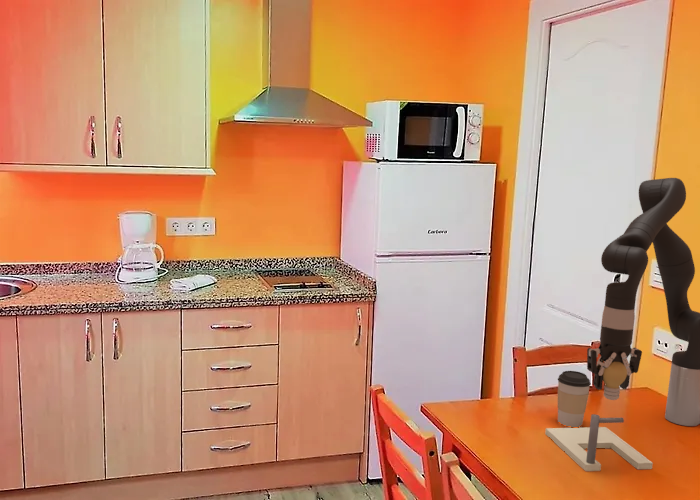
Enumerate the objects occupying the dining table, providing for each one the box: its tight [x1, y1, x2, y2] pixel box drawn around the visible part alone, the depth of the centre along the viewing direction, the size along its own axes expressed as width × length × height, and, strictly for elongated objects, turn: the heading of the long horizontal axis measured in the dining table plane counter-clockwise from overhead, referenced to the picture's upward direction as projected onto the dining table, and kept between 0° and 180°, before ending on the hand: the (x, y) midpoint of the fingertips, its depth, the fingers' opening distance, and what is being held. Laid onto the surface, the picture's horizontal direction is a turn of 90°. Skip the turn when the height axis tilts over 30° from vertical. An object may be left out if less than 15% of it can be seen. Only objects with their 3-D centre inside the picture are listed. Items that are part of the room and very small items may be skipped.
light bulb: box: [602, 362, 627, 401], centre depth 172 cm, size 6×6×10 cm
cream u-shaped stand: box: [544, 413, 654, 472], centre depth 178 cm, size 18×22×14 cm
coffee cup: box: [557, 370, 592, 428], centre depth 195 cm, size 9×9×15 cm
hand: (610, 388), depth 173 cm, fingers closed on light bulb, 6 cm apart
